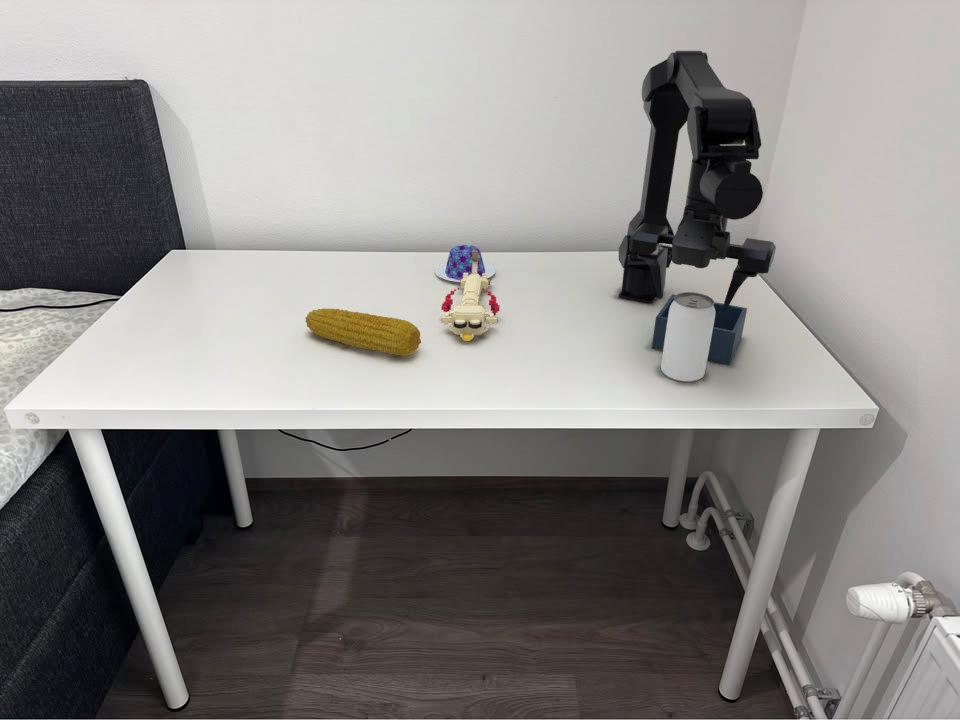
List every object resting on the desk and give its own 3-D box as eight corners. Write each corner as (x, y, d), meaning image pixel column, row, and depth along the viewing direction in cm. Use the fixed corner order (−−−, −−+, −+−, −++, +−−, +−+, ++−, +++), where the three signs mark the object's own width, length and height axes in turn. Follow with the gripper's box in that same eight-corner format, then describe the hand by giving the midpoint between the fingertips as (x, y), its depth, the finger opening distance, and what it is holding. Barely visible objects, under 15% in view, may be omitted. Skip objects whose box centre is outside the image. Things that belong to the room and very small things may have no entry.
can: (707, 367, 108) (721, 295, 102) (700, 387, 103) (713, 312, 97) (665, 358, 110) (676, 287, 105) (655, 377, 105) (666, 303, 100)
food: (425, 350, 113) (423, 316, 110) (407, 366, 108) (405, 331, 106) (316, 326, 121) (312, 294, 118) (296, 340, 116) (291, 307, 113)
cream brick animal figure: (449, 292, 137) (436, 341, 114) (449, 247, 133) (435, 289, 110) (501, 293, 136) (497, 342, 113) (501, 248, 133) (498, 291, 110)
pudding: (441, 262, 147) (440, 237, 145) (498, 264, 146) (498, 240, 143) (430, 283, 137) (429, 258, 135) (491, 287, 136) (491, 261, 133)
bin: (651, 348, 114) (655, 316, 111) (667, 323, 121) (672, 294, 119) (729, 365, 109) (735, 333, 106) (741, 338, 117) (747, 308, 114)
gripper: (622, 202, 91) (611, 312, 99) (774, 223, 84) (750, 340, 91) (646, 182, 100) (635, 284, 108) (786, 200, 92) (763, 308, 100)
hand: (692, 303), depth 101 cm, fingers open, 9 cm apart
